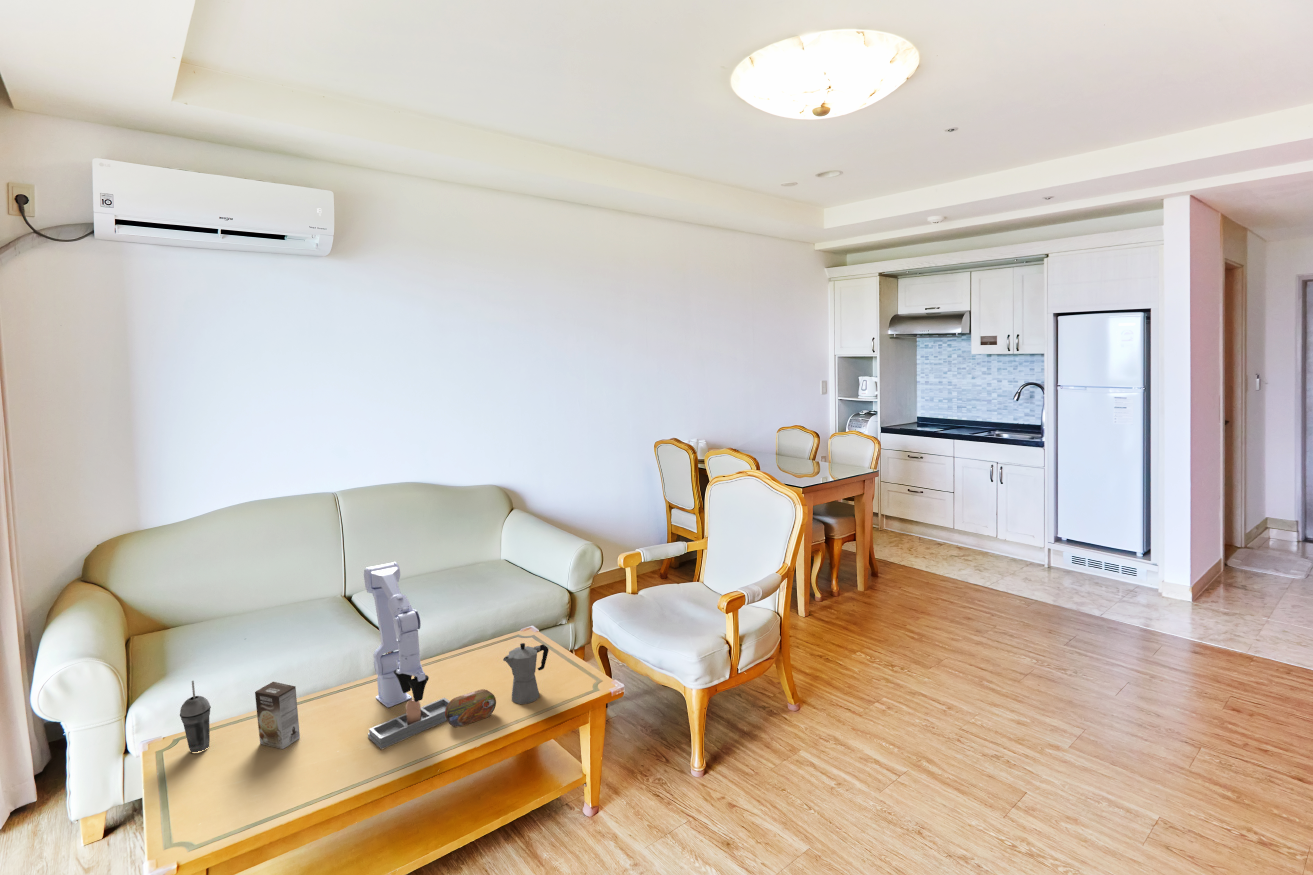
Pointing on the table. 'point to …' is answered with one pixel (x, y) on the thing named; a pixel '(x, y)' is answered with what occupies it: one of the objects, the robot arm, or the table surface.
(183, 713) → the beverage cup
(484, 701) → the tin
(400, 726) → the grey compartment tray
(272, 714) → the coffee box
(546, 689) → the table surface
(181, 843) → the table surface
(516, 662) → the coffeepot
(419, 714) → the tan rounded cylinder
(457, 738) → the table surface
